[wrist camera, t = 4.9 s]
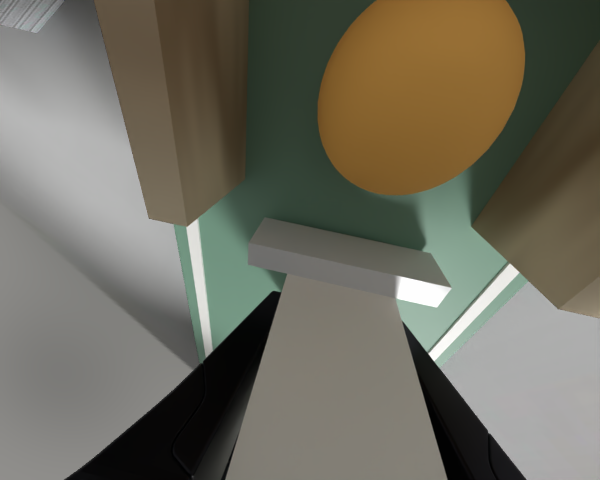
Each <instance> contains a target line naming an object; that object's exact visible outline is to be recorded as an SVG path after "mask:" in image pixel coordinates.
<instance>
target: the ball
mask: <svg viewBox="0 0 600 480" xmlns="http://www.w3.org/2000/svg"><path fill="white" fill-rule="evenodd" d="M524 67H525V49H524V41H523V34H522V31H521V27H520V24H519V22H518V20H517V17H516V16H515V14H514V12H513V10H512V9H511V7H510V5H509V4H508V3H507V1H506V0H376V1H375V2H374V3H372V4H371V5H370V6H369V7H368V8H367V9H366V10H365V11H363V12H362V13H361V14H360V15H359V16H358V17H357V19H356V20H355V21H354V22H353V23H352V24H351V25H350V27H349V28H348V29H347V31H346V32H345V33H344V35H343V36H342V38H341V39H340V41H339V42H338V44H337V46H336V47H335V49H334V51H333V53H332V55H331V57H330V59H329V61H328V64H327V66H326V69H325V72H324V75H323V78H322V82H321V86H320V91H319V98H318V127H319V133H320V137H321V141H322V145H323V147H324V149H325V152H326V154H327V156H328V158H329V159H330V161H331V163H332V164H333V166H334V167H335V168H336V169H337V171H338V172H339V173H340V174H341V175H342V176H343V177H345V178H346V179H347V180H348V181H350V182H351V183H353V184H354V185H356V186H358V187H360V188H362V189H364V190H367V191H370V192H373V193H377V194H383V195H408V194H414V193H418V192H422V191H426V190H429V189H432V188H434V187H437V186H439V185H441V184H443V183H445V182H447V181H449V180H451V179H453V178H455V177H456V176H457V175H459V174H460V173H462V172H463V171H464V170H466V169H467V168H468V167H470V166H471V165H472V164H474V163H475V162H476V161H477V160H478V159H479V158H480V157H481V156H482V155H483V154H484V153H485V152H486V151H487V150H488V149H489V147H490V146H491V145H492V143H493V142H494V141H495V139H496V138H497V137H498V135H499V134H500V133H501V131H502V130H503V128H504V127H505V125H506V123H507V121H508V119H509V117H510V115H511V113H512V111H513V110H514V107H515V104H516V102H517V99H518V96H519V93H520V90H521V86H522V81H523V76H524Z"/></svg>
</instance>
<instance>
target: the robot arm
mask: <svg viewBox="0 0 600 480" xmlns="http://www.w3.org/2000/svg"><path fill="white" fill-rule="evenodd" d="M281 293H282V292H278V291H272V292H271V293H270V294H269V295H268V296H267V297H266V298H265V299H264V300H263V301H262V302H261V303H260V304H259V305H258V306H257V307H256V308H255V309H254V310H253V311H252V312H251V313H250V314H249V315H248V316H247V317H246V318H245V319H244V320H243V321H242V322H241V323H240V324H239V325H238V326H237V327H236V328H235V329H234V330H233V331H232V332H231V333H230V334H229V335H228V336H227V337H226V338H225V339H224V340H223V341H222V342H221V343H220V344H219V345H218V346H217V347H216V348H215V349H214V350H213V351H212V352H211V353H210V354H209V355H208V356H207V357H206V358H205V359H204V360H203V363H200V364H199V365H198V366H197V367H196V368H195V369H194V370H193V371H192V372H191V373H190V374H189V375H188V376H187V377H186V378H185V379H184V380H183V381H182V382H181V383H180V384H179V385H178V386H177V387H176V388H175V389H174V390H173V391H171V392H170V393H169V394H168V395H167V396H166V397H165V398H163V399H162V400H161V401H160V402H159V403H158V404H157V405H156V406H154V407H153V408H152V409H151V410H150V411H148V412H147V413H146V414H145V415H144V416H143V417H142V418H140V419H139V420H138V421H137V422H136V423H134V424H133V425H132V426H131V427H130V428H128V429H127V430H126V431H125V432H124V433H122V434H121V435H120V436H119V437H118V438H117V439H115V440H114V441H113V442H112V443H111V444H110V445H108V446H107V447H106V448H105V449H103V450H102V451H101V452H100V453H99V454H97V455H96V456H95V457H94V458H93V459H91V460H90V461H89V462H88V463H86V464H85V465H84V466H82V467H81V468H80V469H78V470H77V471H76V472H74V473H73V474H72V475H70V476H69V477H67V478H66V479H64V480H225V479H226V476H227V472H228V469H229V466H230V462H231V459H232V456H233V452H234V449H235V446H236V442H237V439H238V436H239V432H240V429H241V426H242V422H243V419H244V416H245V412H246V409H247V406H248V402H249V399H250V396H251V392H252V389H253V386H254V382H255V379H256V376H257V372H258V369H259V366H260V362H261V359H262V356H263V352H264V349H265V346H266V343H267V339H268V336H269V333H270V329H271V326H272V323H273V319H274V316H275V313H276V309H277V306H278V303H279V299H280V296H281ZM402 323H403V327H404V330H405V334H406V337H407V341H408V344H409V348H410V351H411V355H412V358H413V362H414V365H415V369H416V372H417V376H418V379H419V383H420V386H421V389H422V393H423V396H424V400H425V403H426V407H427V410H428V414H429V417H430V421H431V424H432V428H433V431H434V435H435V438H436V442H437V445H438V449H439V452H440V456H441V459H442V463H443V466H444V470H445V473H446V477H447V480H526V478H525V477H524V476H523V475H522V473H521V472H520V471H519V470H518V468H517V467H516V466H515V465H514V463H513V462H512V461H511V460H510V458H509V457H508V456H507V455H506V453H505V452H504V451H503V449H502V448H501V447H500V446H499V444H498V443H497V442H496V440H495V439H494V438H493V437H492V435H491V434H489V433H488V430H487V429H486V428H485V426H484V425H483V424H482V422H481V421H480V420H479V419H478V417H477V416H476V415H475V413H474V412H473V411H472V410H471V408H470V407H469V406H468V404H467V403H466V402H465V401H464V399H463V398H462V397H461V395H460V394H459V393H458V391H457V390H456V389H455V388H454V386H453V385H452V384H451V382H450V381H449V380H448V379H447V377H446V376H445V375H444V373H443V372H442V371H441V370H440V368H439V367H438V366H437V364H436V363H435V362H434V360H433V359H432V358H431V357H430V355H429V354H428V353H427V351H426V350H425V349H424V348H423V346H422V345H421V344H420V342H419V341H418V340H417V339H416V337H415V336H414V335H413V333H412V332H411V331H410V329H409V328H408V327H407V326H406V324H405V323H404V322H403V321H402Z"/></svg>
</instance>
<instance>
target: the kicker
mask: <svg viewBox="0 0 600 480" xmlns="http://www.w3.org/2000/svg"><path fill="white" fill-rule="evenodd" d="M248 265H251V266H255V267H260V268H264V269H268V270H273V271H277V272H282V273H286V274H287V276H286V279H285V283H284V286H283V289H282V293H281V296H280V299H279V303H278V306H277V309H276V313H275V316H274V319H273V323H272V326H271V329H270V333H269V336H268V339H267V343H266V346H265V349H264V352H263V356H262V359H261V362H260V366H259V369H258V372H257V376H256V379H255V382H254V386H253V389H252V392H251V396H250V399H249V402H248V406H247V409H246V412H245V416H244V419H243V422H242V426H241V429H240V432H239V436H238V439H237V442H236V446H235V449H234V452H233V456H232V459H231V462H230V466H229V469H228V472H227V476H226V479H225V480H447V477H446V473H445V470H444V466H443V463H442V459H441V456H440V452H439V449H438V445H437V442H436V438H435V435H434V431H433V428H432V424H431V421H430V417H429V414H428V410H427V407H426V403H425V400H424V396H423V393H422V389H421V386H420V383H419V379H418V376H417V372H416V369H415V365H414V362H413V358H412V355H411V351H410V348H409V344H408V341H407V337H406V334H405V330H404V327H403V323H402V320H401V316H400V313H399V309H398V306H397V302H396V299H395V298H397V299H401V300H406V301H410V302H415V303H419V304H423V305H428V306H432V307H438V305H439V304H440V303H441V302H442V300H443V299H444V298H445V296H446V295H447V294H448V292H449V291H450V290H451V289H452V287H451V285H450V284H449V282H448V281H447V279H446V277H445V276H444V274H443V272H442V271H441V269H440V267H439V266H438V264H437V262H436V261H435V259H434V258H433V256H432V254H431V253H428V252H423V251H419V250H414V249H410V248H405V247H400V246H396V245H391V244H386V243H382V242H377V241H373V240H368V239H363V238H359V237H354V236H349V235H345V234H340V233H336V232H331V231H326V230H322V229H317V228H313V227H308V226H303V225H299V224H294V223H289V222H285V221H280V220H276V219H271V218H266V217H265V218H264V219H263V221H262V223H261V224H260V226H259V227H258V229H257V230H256V232H255V233H254V235H253V237H252V238H251V240H250V241H249V243H248Z"/></svg>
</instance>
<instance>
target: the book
mask: <svg viewBox="0 0 600 480" xmlns="http://www.w3.org/2000/svg"><path fill="white" fill-rule="evenodd" d="M64 1H65V0H0V25H4V26H8V27H13V28H17V29H21V30H26V31H30V32H34V33H38V31H39V30H40V29H41V28H42V27H43V26H44V24H45V23H46V22H47V21H48V20H49V19H50V17H51V16H52V15H53V14H54V13H55V11H56V10H57V9H58V8H59V7H60V6H61V4H62V3H63V2H64Z"/></svg>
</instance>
